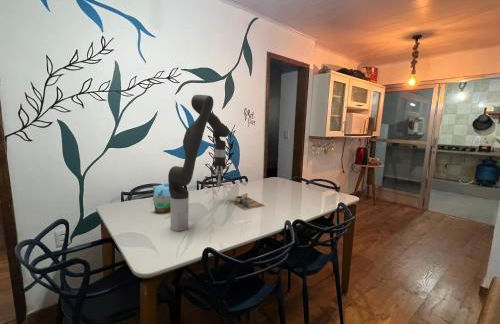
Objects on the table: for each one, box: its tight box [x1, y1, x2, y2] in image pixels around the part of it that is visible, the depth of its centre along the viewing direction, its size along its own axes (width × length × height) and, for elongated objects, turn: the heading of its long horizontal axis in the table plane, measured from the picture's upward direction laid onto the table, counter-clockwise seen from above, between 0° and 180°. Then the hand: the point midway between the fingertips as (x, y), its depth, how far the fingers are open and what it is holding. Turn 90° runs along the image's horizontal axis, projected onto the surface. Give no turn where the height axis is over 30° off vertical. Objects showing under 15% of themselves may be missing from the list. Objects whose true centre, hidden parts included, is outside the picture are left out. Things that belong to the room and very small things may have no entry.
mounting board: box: [227, 196, 266, 211], centre depth 173 cm, size 22×18×1 cm
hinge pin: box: [216, 170, 222, 187], centre depth 169 cm, size 4×4×11 cm
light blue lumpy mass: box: [152, 182, 170, 197], centre depth 171 cm, size 18×16×14 cm
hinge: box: [234, 192, 250, 208], centre depth 173 cm, size 18×14×4 cm
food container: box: [152, 195, 170, 215], centre depth 151 cm, size 12×6×10 cm, turn 105°
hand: (219, 180), depth 170 cm, fingers closed on hinge pin, 2 cm apart
